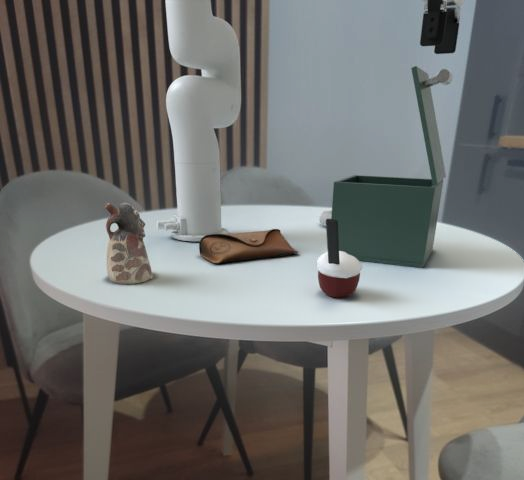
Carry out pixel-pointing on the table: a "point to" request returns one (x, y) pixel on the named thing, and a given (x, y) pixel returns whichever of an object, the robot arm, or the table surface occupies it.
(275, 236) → the sunglasses case
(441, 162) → the bin lid
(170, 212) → the table surface
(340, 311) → the table surface
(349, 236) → the trash bin
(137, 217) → the figurine
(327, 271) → the cocoa
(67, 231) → the table surface
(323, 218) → the donut
